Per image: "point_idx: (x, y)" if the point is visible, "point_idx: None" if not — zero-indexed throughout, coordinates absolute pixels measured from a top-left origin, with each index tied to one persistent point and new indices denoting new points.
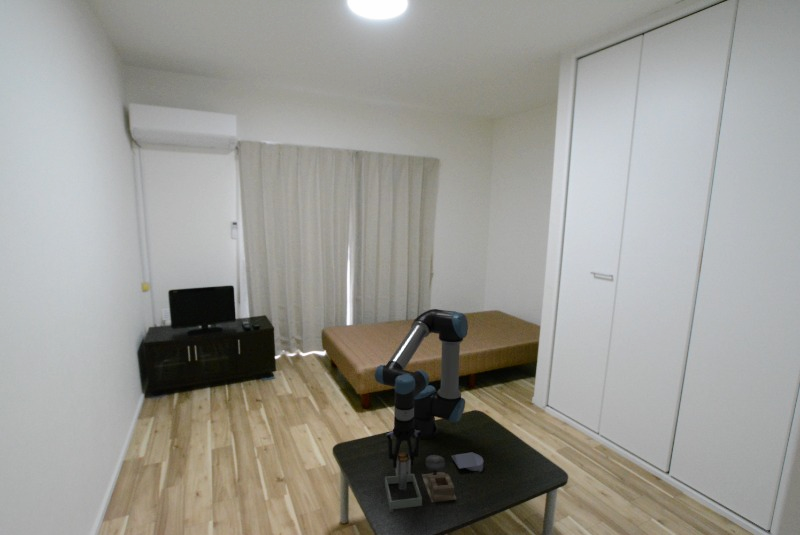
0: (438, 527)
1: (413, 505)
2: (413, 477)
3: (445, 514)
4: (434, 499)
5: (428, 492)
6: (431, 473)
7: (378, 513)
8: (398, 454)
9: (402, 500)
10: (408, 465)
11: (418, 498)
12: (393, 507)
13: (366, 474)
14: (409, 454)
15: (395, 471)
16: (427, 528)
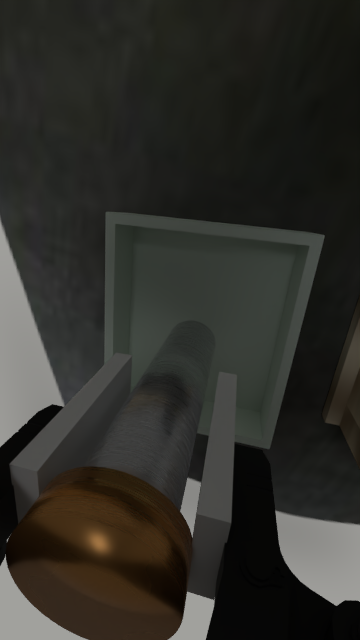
0: (286, 511)
1: None
2: (303, 270)
3: (354, 479)
4: (346, 435)
5: (348, 360)
6: None
7: (78, 375)
8: (15, 530)
9: None
10: (199, 494)
11: (250, 443)
12: None
13: (36, 69)
14: (221, 583)
15: (111, 360)
16: None
